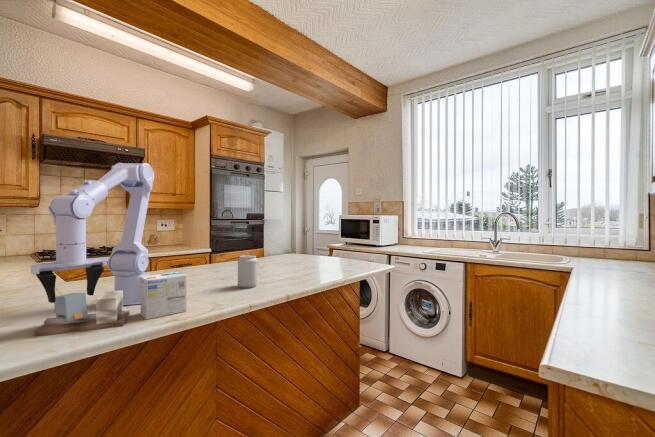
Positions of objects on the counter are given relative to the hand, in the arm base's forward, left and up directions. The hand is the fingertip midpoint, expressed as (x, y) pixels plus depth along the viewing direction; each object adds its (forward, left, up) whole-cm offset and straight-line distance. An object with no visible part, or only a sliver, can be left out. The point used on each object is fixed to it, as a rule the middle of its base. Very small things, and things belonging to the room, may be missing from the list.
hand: (71, 298), depth 76 cm
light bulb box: (-20, -3, -7) cm, 21 cm away
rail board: (-3, 0, -7) cm, 8 cm away
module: (0, 0, -5) cm, 5 cm away
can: (-47, -26, -7) cm, 54 cm away
